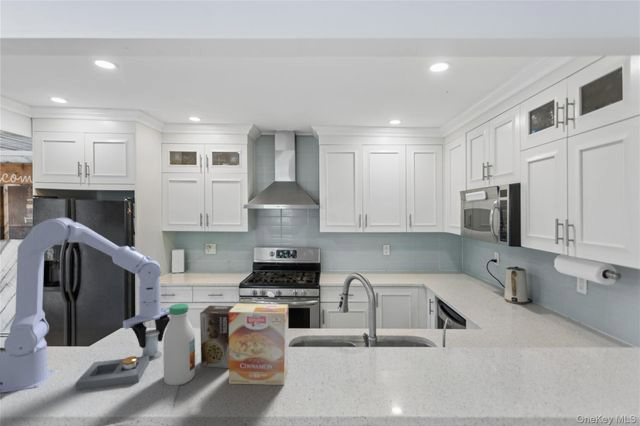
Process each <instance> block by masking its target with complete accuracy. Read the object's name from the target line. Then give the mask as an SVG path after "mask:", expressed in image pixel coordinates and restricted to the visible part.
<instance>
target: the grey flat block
mask: <svg viewBox="0 0 640 426" xmlns="http://www.w3.org/2000/svg"><path fill="white" fill-rule="evenodd" d="M136 357H137V356H136ZM124 359H125V358H120V359H118V358H117V359H110V360H101V361H94V362H93V363H92V364H91V365H90V366H89V367H88V368H87V369H86V371H85V372H84V373H83V374H82V375H81V376H80V378H78V379H77V381H76V382H75V391H76V392H77V391H84V390H86V391H87V390H92V389H93V390H94V389H99V388H106V387H114V386H121V385H128V384H129V385H130V384H137V383H140V381H141V379H142V377H143V375H144V373H145V371H146V369H147V368H148V366H149V364H150V361H149V356H144V357H141V356H138V357H137V360H136V369H132V370H124V369H123V363H122V361H123V360H124Z"/></svg>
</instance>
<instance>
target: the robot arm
mask: <svg viewBox="0 0 640 426" xmlns="http://www.w3.org/2000/svg"><path fill="white" fill-rule="evenodd" d="M65 240H67V243H83V244H85V245H88V246H90V247H92V248H94V249H96V250H97V251H100V252H102V253H103V254H106V255H107V256H110V257H111V258H112V263H113V264H115V265H117V266H119V267H120V268H123V269H124V270H126V271H128V272H130V273H132V274H137V277H138V279H139V286H138V289H139V290H138V291H139V292H138V293H139V296H138V300H139V302H138V303H139V314H138V315H134V316H133V317H130V318H128V319H126V320H122V328H123V329H125V330H128V329H130V328H131V330H132V332H134V334H135V336H136V339H137V341H138V345H139V346H138V347H140V348H141V349H143V348H145V334H146V331H147V326H145V324H144V323H148V322H150V321H151V322H152V321H154V324H155V329H157V330H159V334H158V342H163V339H164V335H165V332H166V329H167V327H168V325H169V322H170V318H171V316H170V312H169V309H170V307H171V306H169V307H165V308H162V302H161V301H162V295H161V294H162V290H161V289H162V286H161V274H162V271H161V265H160V263H159V262H158V261H157V260H156V259H155V258H151V256H149V255H147V256H146V255H144V254H142V253H140V252H138V251H137V250H136V247H134V246H131V247H130V246H128V245H125V246H123V245H122V246H120V245H117V244H115V243H113V242H112V241H110V240H109V239H107V238H105V237H104V236H103V235H101V234H99V233H97V232H96V231H94V230H92V229H91V228H89V227H87V226H85V225H84V224H82V223H80V222H77V221H74V220H72V219H71V218H69V217H57V218H49V219H46V220H44V221H41V222H39V223H38V224H36V225H34V226H33V227H32V228H31V230H30V232H29V233H28V234H27V235H26V237H25V238H23V240H22V241H21V242H20V243H19V244H18V247H17V255H16V256H17V259H16V286H15V287H16V288H15V291H16V292H15V315H14V317H13V320H12V322H11V324H10V327H9V334H8V336H7V337H6V338H5V341H4V345H3V346H4V350H5V351H3V352H1V353H0V394H1V393H10V392H12V391H21V390H28V389H36V388H39V387H41V385H42V384H44V383H45V382H46V381H47V380H48V379H49V378H50V377H51V376H53V374H55V372H56V369H48V343H47V341H46V339H45V337H46V335H47V334H48V333H49V331H50V325H49V323H48V321H47V319H46V313H45V311H44V309H43V300H44V299H43V295H44V269H45V268H44V267H45V253H46V251H48V250H50V249H51V248H52V247H54V246H55V245H56V244H58V243H61V242H64V241H65ZM169 316H170V317H169Z"/></svg>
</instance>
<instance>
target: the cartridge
mask: <svg viewBox="0 0 640 426" xmlns="http://www.w3.org/2000/svg"><path fill="white" fill-rule="evenodd" d="M158 334H159V330H157V329H156V328H155V329H148V330H147V329H146V334H145V348H142V355H143V356H153V355H155V354H157V351H159V349H158V348H159V347H158V345H159V341H158ZM142 355H141V356H142Z"/></svg>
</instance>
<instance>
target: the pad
mask: <svg viewBox="0 0 640 426" xmlns="http://www.w3.org/2000/svg"><path fill="white" fill-rule="evenodd" d="M162 356H163V352H161V351H159V350H157V354H155V355H153V356H149V362H151V361H155V360H158V359H159V358H160V357H162ZM140 357H144V356H143V355H141V356H140Z"/></svg>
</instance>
